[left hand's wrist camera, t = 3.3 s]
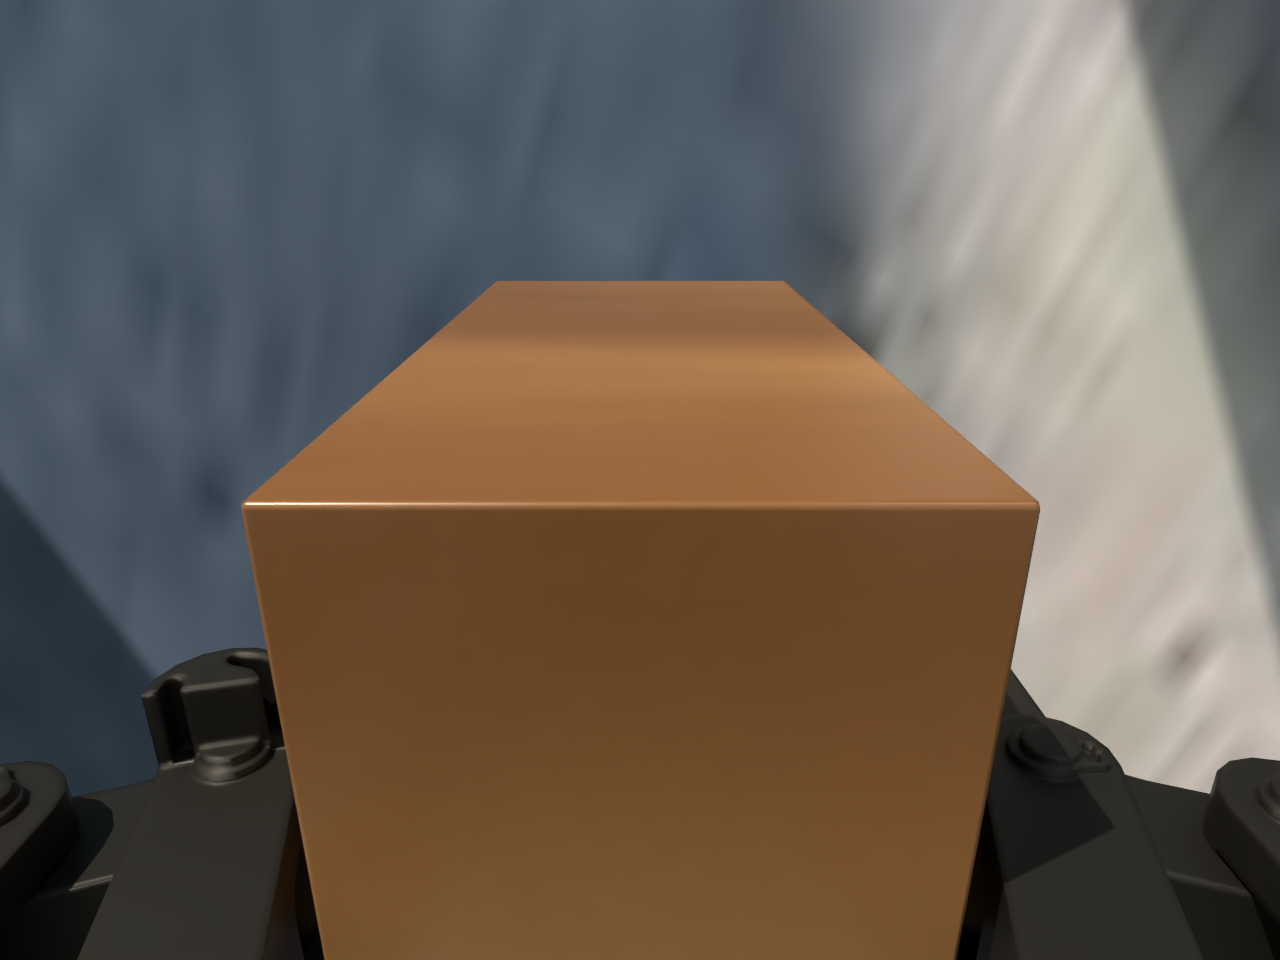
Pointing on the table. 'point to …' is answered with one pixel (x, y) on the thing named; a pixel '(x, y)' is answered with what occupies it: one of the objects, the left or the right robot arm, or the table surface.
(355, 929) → the bar
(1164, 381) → the table surface
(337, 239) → the table surface
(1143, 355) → the table surface
